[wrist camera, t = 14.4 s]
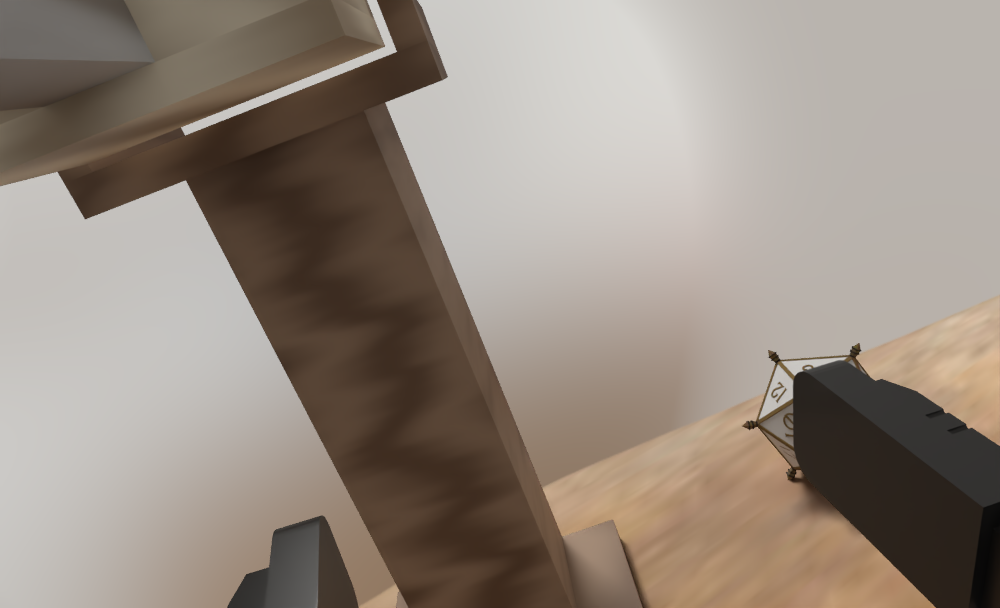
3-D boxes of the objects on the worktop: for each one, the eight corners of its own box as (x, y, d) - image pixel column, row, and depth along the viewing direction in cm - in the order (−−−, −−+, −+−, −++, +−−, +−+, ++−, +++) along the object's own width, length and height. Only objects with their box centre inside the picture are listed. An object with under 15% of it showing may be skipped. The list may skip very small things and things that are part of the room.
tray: (-592, 336, 9) (-976, -59, 8) (88, 163, 26) (12, 29, 24) (230, 2, 8) (-7, -516, 7) (385, 46, 25) (326, -101, 24)
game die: (866, 495, 46) (941, 364, 43) (849, 546, 39) (937, 393, 36) (740, 428, 50) (799, 303, 47) (704, 463, 43) (771, 319, 40)
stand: (392, 748, 37) (35, 133, 26) (406, 609, 46) (149, 116, 35) (660, 661, 36) (406, -16, 25) (619, 537, 45) (421, 7, 34)
